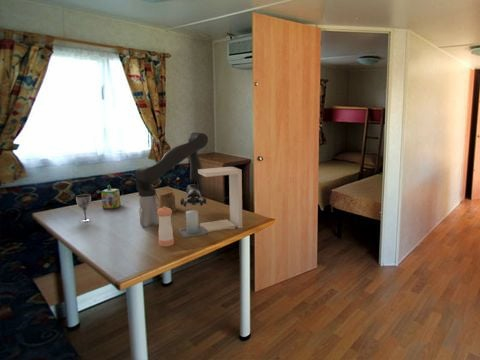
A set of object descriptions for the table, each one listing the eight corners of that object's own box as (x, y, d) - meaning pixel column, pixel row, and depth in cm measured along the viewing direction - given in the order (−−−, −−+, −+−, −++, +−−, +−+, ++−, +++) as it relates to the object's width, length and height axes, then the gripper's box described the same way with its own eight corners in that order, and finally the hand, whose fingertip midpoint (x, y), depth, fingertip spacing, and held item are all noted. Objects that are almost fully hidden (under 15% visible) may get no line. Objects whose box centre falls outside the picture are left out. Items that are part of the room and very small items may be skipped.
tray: (184, 239, 176) (184, 236, 175) (178, 232, 186) (178, 229, 186) (207, 235, 181) (207, 232, 180) (200, 228, 191) (199, 226, 191)
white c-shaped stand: (207, 233, 184) (205, 173, 177) (199, 227, 194) (197, 169, 188) (242, 227, 192) (241, 169, 186) (233, 221, 203) (232, 166, 196)
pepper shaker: (155, 246, 168) (152, 207, 164) (166, 241, 174) (164, 203, 170) (166, 249, 164) (164, 209, 160) (177, 244, 170) (175, 205, 166)
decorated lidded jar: (115, 208, 233) (113, 186, 230) (102, 208, 233) (100, 186, 230) (121, 205, 242) (119, 183, 239) (108, 204, 242) (106, 183, 240)
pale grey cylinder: (188, 235, 179) (187, 214, 177) (185, 231, 185) (184, 211, 183) (200, 233, 182) (199, 212, 180) (196, 229, 187) (195, 209, 185)
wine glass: (87, 217, 214) (85, 193, 211) (96, 219, 210) (93, 195, 207) (75, 221, 207) (72, 196, 204) (84, 223, 203) (81, 198, 200)
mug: (146, 211, 226) (145, 192, 224) (171, 206, 237) (170, 188, 235) (155, 215, 218) (154, 196, 215) (180, 209, 229) (179, 191, 227)
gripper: (181, 191, 206) (179, 198, 191) (205, 190, 208) (205, 197, 192) (182, 203, 208) (180, 211, 192) (206, 202, 209) (206, 210, 193)
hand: (193, 204), depth 192 cm, fingers open, 8 cm apart
